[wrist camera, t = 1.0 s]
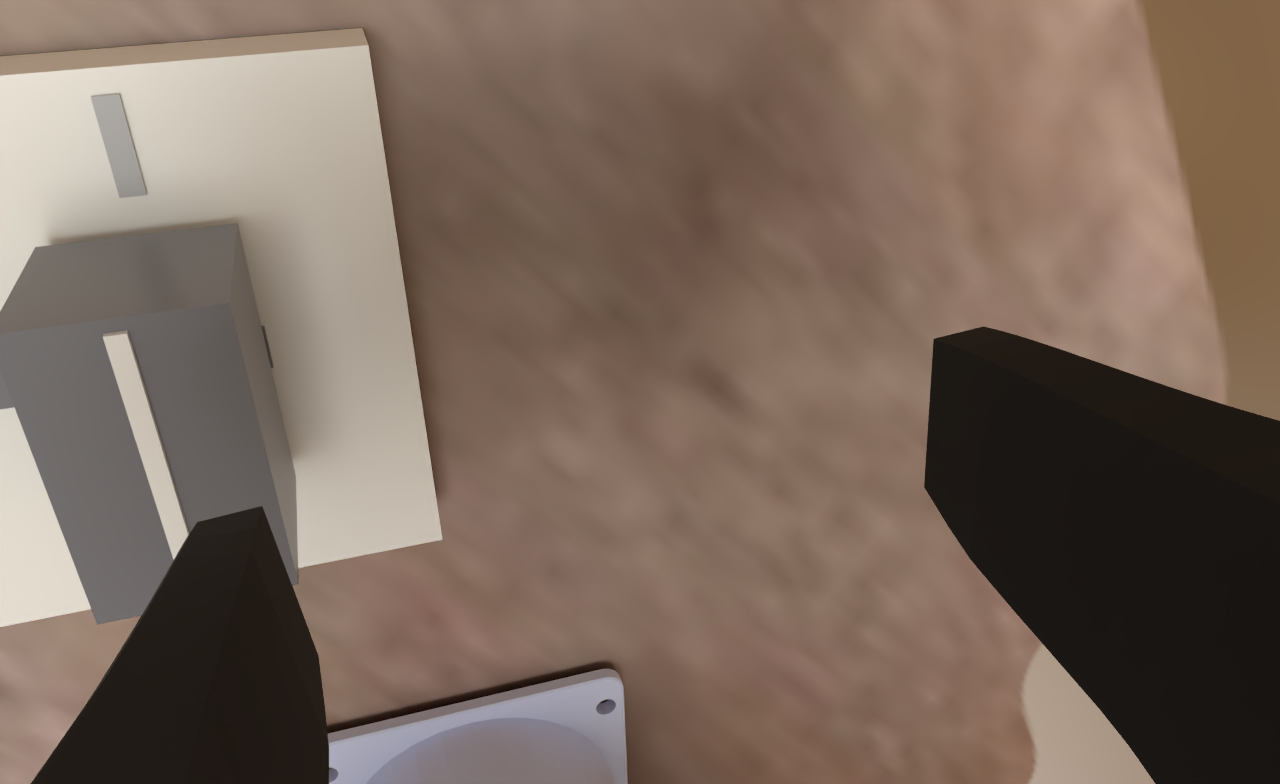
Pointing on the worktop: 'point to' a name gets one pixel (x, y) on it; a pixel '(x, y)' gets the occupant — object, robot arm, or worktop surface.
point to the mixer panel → (275, 254)
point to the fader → (146, 402)
